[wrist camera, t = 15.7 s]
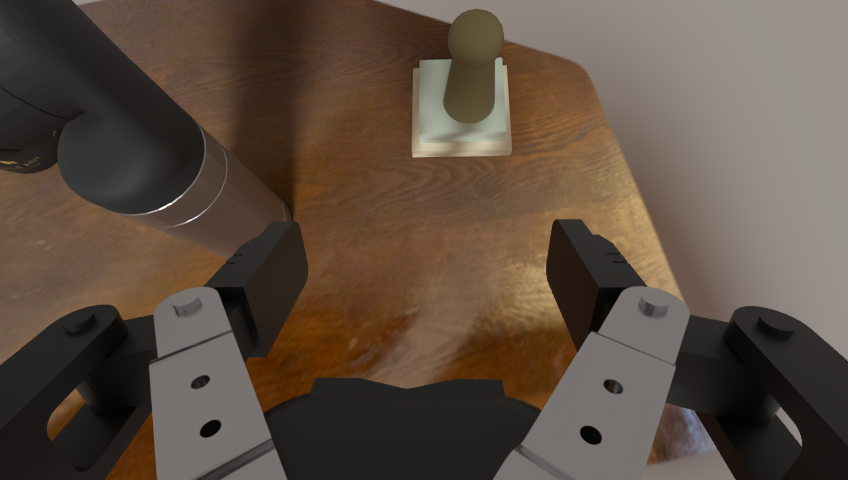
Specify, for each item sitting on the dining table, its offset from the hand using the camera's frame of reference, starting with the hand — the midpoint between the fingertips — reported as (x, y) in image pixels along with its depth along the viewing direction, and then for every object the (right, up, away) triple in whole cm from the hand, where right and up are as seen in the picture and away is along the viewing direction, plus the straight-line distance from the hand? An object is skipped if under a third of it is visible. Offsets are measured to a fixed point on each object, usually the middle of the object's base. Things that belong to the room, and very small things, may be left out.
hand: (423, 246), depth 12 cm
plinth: (+5, +16, +36) cm, 40 cm away
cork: (+5, +16, +32) cm, 37 cm away
